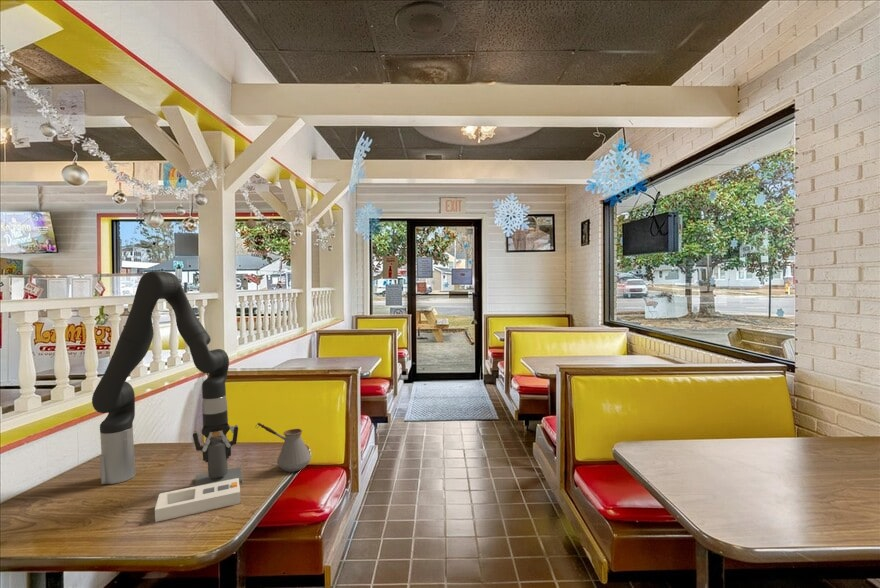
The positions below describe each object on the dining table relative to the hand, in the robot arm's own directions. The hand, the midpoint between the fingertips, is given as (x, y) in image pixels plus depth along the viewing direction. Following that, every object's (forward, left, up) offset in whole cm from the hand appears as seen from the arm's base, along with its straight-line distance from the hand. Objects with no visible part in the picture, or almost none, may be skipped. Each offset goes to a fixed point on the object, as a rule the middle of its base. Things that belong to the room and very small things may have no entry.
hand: (217, 459), depth 154 cm
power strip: (-5, -15, -7) cm, 18 cm away
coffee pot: (+21, +2, -8) cm, 22 cm away
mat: (0, 0, -7) cm, 7 cm away
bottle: (0, 0, -5) cm, 5 cm away
